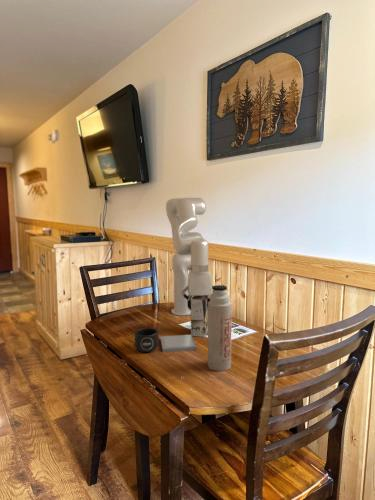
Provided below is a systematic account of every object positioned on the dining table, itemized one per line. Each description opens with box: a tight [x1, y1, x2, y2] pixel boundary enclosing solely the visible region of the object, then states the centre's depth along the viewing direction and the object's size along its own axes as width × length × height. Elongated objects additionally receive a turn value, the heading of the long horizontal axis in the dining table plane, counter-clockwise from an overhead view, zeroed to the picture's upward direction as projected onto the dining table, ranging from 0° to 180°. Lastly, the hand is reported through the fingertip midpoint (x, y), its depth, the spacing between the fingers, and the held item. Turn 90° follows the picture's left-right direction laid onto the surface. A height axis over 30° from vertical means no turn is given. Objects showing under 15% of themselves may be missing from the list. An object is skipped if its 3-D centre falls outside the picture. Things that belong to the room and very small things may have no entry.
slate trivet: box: [159, 334, 197, 353], centre depth 138 cm, size 13×13×1 cm
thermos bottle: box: [207, 284, 232, 372], centre depth 117 cm, size 8×8×28 cm
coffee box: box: [190, 295, 209, 338], centre depth 149 cm, size 9×6×16 cm
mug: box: [134, 327, 159, 353], centre depth 134 cm, size 12×9×7 cm
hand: (199, 308), depth 149 cm, fingers closed on coffee box, 7 cm apart
